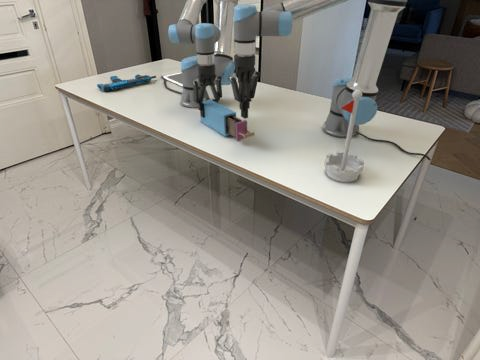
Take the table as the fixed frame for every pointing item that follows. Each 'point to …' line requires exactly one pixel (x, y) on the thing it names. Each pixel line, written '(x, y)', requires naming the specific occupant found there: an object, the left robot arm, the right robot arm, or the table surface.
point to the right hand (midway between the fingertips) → (244, 117)
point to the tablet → (175, 78)
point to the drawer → (237, 128)
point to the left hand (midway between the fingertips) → (209, 114)
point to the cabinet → (216, 116)
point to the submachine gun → (124, 82)
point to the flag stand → (346, 151)
